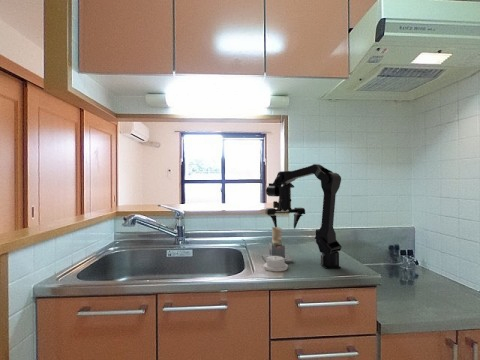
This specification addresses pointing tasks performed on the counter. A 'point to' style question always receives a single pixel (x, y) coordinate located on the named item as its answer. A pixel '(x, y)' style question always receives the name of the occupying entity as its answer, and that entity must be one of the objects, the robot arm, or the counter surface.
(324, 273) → the counter surface
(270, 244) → the metal stand
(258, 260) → the counter surface
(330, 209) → the robot arm
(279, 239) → the birch post
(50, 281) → the counter surface
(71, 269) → the counter surface
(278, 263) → the mechanical component
